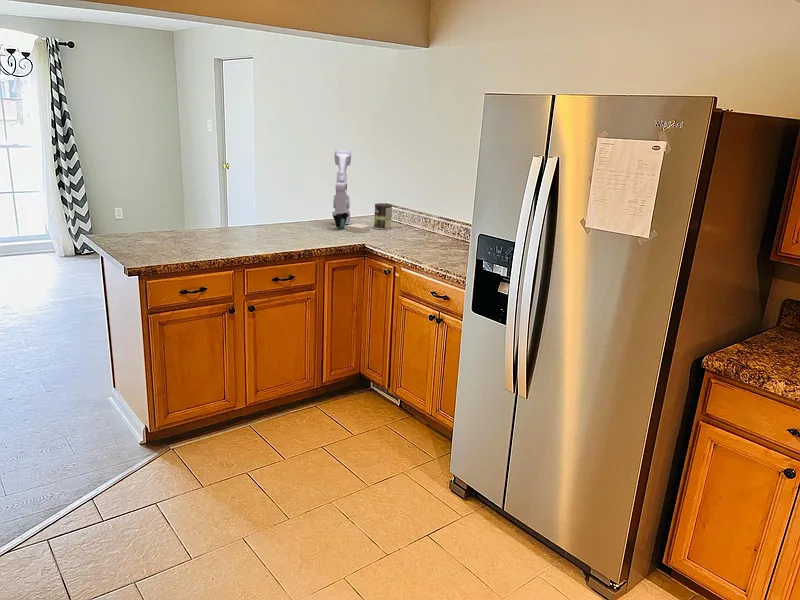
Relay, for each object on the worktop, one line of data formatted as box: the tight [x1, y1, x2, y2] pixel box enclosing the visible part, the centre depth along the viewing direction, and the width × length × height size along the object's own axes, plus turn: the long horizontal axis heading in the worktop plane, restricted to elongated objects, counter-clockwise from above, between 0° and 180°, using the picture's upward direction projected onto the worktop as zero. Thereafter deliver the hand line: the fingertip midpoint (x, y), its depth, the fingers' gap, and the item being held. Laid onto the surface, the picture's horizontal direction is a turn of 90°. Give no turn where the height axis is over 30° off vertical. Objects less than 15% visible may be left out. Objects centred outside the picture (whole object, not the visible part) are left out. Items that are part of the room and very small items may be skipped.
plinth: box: [345, 223, 371, 234], centre depth 352 cm, size 10×10×3 cm
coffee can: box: [373, 202, 393, 230], centre depth 363 cm, size 10×10×14 cm
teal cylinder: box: [336, 218, 345, 230], centre depth 355 cm, size 4×4×6 cm
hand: (340, 226), depth 355 cm, fingers closed on teal cylinder, 4 cm apart
